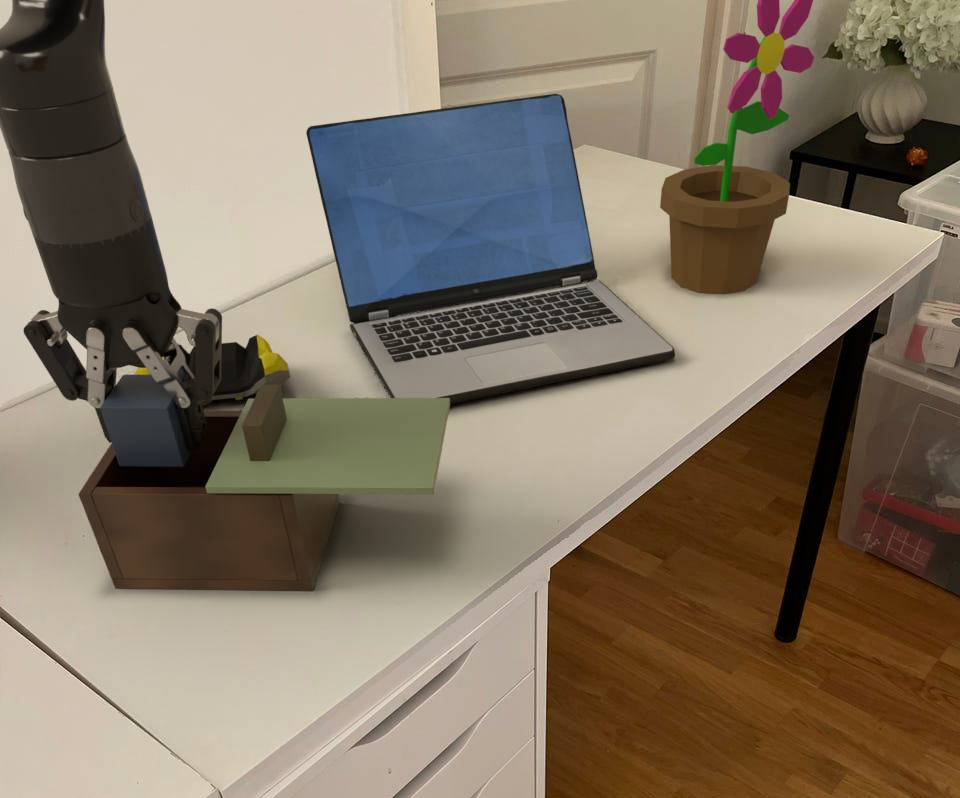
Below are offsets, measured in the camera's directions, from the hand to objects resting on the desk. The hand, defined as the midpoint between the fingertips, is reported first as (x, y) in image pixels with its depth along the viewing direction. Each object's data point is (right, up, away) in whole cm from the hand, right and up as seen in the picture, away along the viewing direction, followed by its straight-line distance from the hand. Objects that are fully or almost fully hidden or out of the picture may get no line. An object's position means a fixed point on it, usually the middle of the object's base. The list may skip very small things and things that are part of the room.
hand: (159, 443), depth 74 cm
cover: (+14, 0, -1) cm, 14 cm away
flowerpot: (+53, +28, +41) cm, 73 cm away
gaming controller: (-2, +10, +25) cm, 27 cm away
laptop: (+26, +20, +34) cm, 47 cm away
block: (0, 0, 0) cm, 1 cm away
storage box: (+4, -7, +6) cm, 10 cm away
